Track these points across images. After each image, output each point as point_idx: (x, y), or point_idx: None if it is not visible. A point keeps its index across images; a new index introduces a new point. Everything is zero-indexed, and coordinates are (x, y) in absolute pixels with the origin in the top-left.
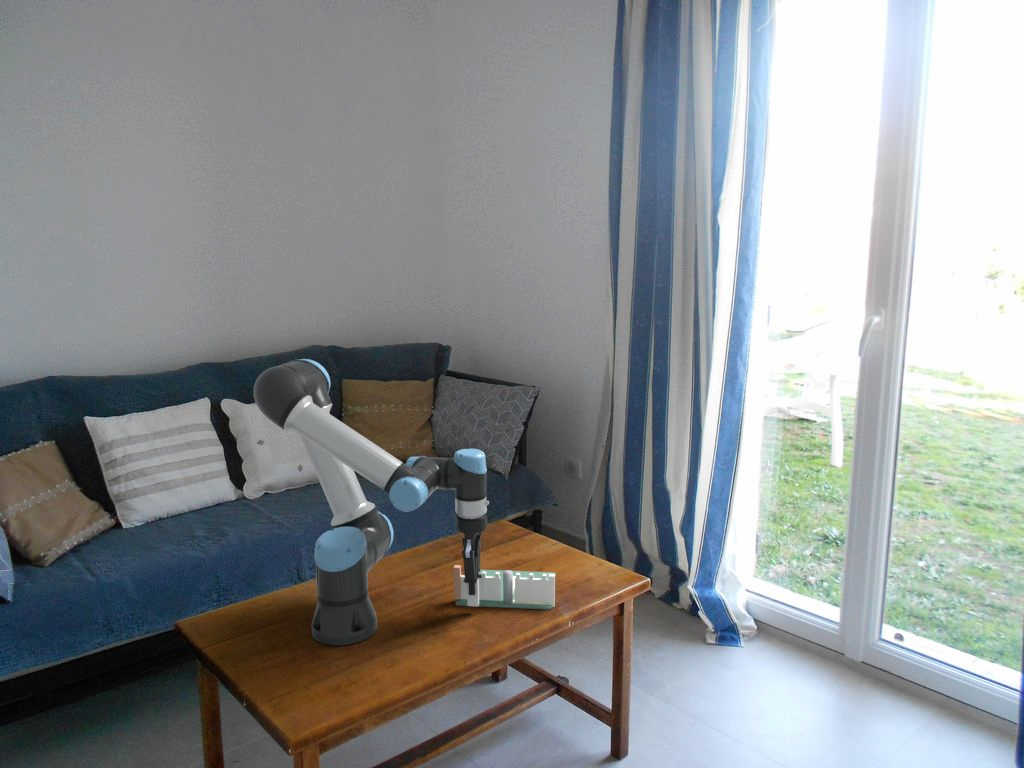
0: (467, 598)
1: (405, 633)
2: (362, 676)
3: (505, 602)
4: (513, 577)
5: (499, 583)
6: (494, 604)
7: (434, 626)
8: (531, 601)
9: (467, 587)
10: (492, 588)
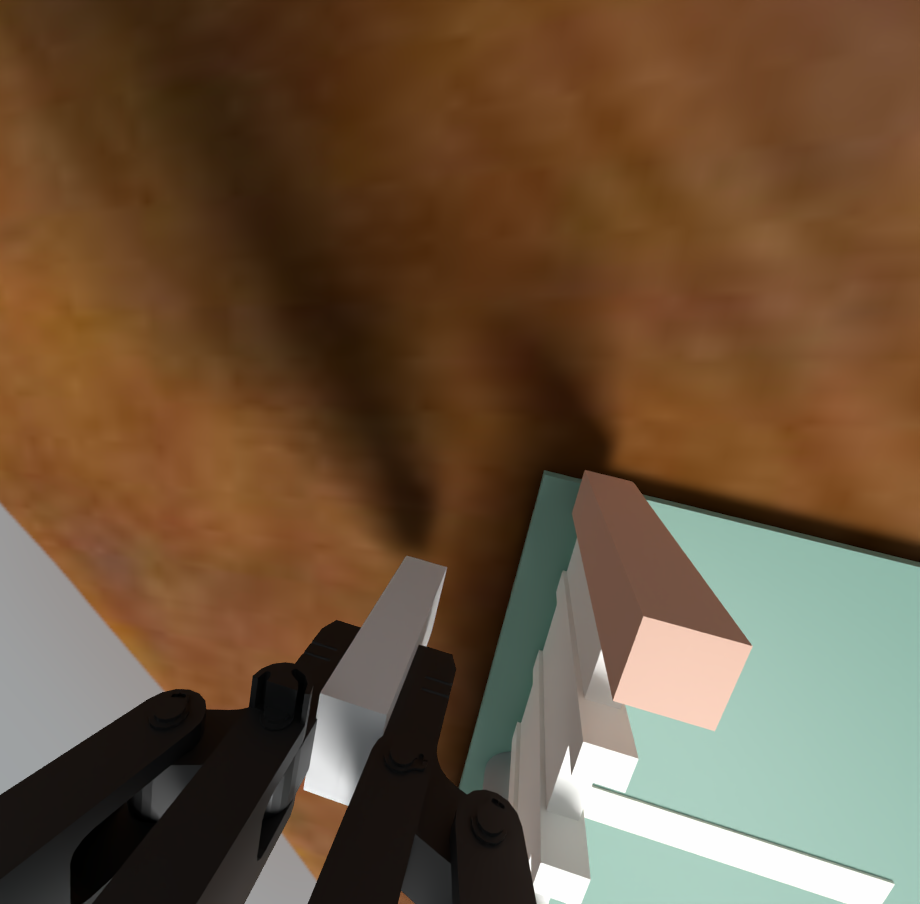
0: (387, 586)
1: (207, 121)
2: None
3: (489, 764)
4: (863, 889)
5: None
6: (486, 701)
7: (290, 320)
8: None
9: (351, 648)
10: (525, 781)
